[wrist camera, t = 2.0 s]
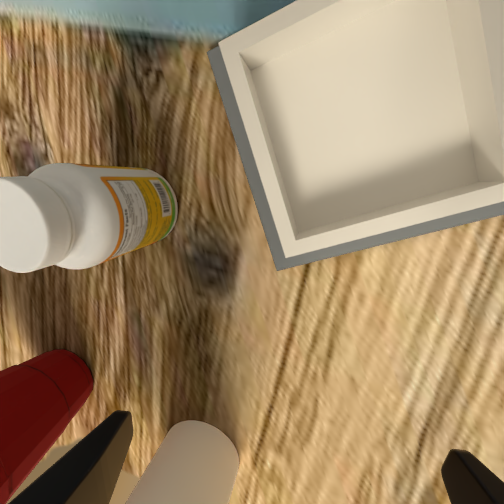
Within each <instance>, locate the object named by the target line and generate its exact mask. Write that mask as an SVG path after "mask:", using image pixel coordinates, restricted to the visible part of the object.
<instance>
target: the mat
mask: <svg viewBox="0 0 504 504" xmlns="http://www.w3.org/2000/svg"><path fill="white" fill-rule="evenodd" d="M207 54H208V58H209V61H210V64H211V67H212V70H213V73H214V76H215V79H216V82H217V86H218V89H219V92H220V95H221V98H222V101H223V104H224V107H225V110H226V114H227V117H228V120H229V123H230V126H231V129H232V132H233V135H234V139H235V142H236V145H237V148H238V151H239V154H240V157H241V160H242V163H243V167H244V170H245V173H246V176H247V179H248V182H249V185H250V188H251V191H252V195H253V198H254V201H255V204H256V207H257V210H258V213H259V216H260V220H261V223H262V226H263V229H264V232H265V235H266V238H267V241H268V244H269V248H270V251H271V254H272V257H273V260H274V263H275V266H276V269H277V271H279V270H283V269H287V268H291V267H295V266H299V265H303V264H307V263H311V262H315V261H319V260H323V259H327V258H331V257H335V256H339V255H343V254H347V253H351V252H355V251H359V250H363V249H367V248H371V247H375V246H379V245H383V244H387V243H391V242H395V241H399V240H403V239H407V238H411V237H415V236H419V235H423V234H427V233H431V232H435V231H439V230H443V229H447V228H451V227H455V226H459V225H463V224H467V223H472V222H476V221H480V220H484V219H488V218H492V217H496V216H500V215H504V201H503V202H499V203H496V204H492V205H488V206H484V207H480V208H476V209H473V210H469V211H465V212H461V213H457V214H453V215H450V216H446V217H442V218H438V219H434V220H430V221H426V222H423V223H419V224H415V225H411V226H407V227H403V228H400V229H396V230H392V231H388V232H384V233H380V234H377V235H373V236H369V237H365V238H361V239H357V240H353V241H350V242H346V243H342V244H338V245H334V246H330V247H327V248H323V249H319V250H315V251H311V252H307V253H304V254H300V255H296V256H292V257H288V258H285V254H284V251H283V248H282V245H281V242H280V238H279V235H278V232H277V229H276V226H275V222H274V219H273V216H272V213H271V210H270V206H269V203H268V200H267V197H266V194H265V190H264V187H263V184H262V181H261V178H260V174H259V171H258V168H257V165H256V162H255V158H254V155H253V152H252V149H251V146H250V143H249V139H248V136H247V133H246V130H245V127H244V123H243V120H242V117H241V114H240V111H239V107H238V104H237V101H236V98H235V95H234V91H233V88H232V85H231V82H230V79H229V75H228V72H227V69H226V66H225V63H224V59H223V56H222V53H221V50H220V47H219V46H217V47H216V48H214V49H212V50H210V51H208V52H207Z"/></svg>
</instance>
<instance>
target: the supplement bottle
mask: <svg viewBox="0 0 504 504" xmlns="http://www.w3.org/2000/svg"><path fill="white" fill-rule="evenodd" d="M177 215H178V205H177V199H176V196H175V193H174V191H173V189H172V187H171V186H170V184H169V183H168V182H167V181H166V180H165V179H164V178H163V177H162V176H161V175H159V174H158V173H156V172H154V171H152V170H149V169H144V168H135V167H118V166H102V165H88V164H74V163H55V164H48V165H45V166H42V167H40V168H38V169H36V170H35V171H33V172H32V173H31V174H30V175H29V176H28V177H26V176H18V177H0V266H1V267H3V268H5V269H7V270H9V271H13V272H17V273H27V272H32V271H35V270H39V269H42V268H45V267H49V266H52V265H57V266H59V267H63V268H67V269H85V268H89V267H92V266H95V265H98V264H101V263H103V262H106V261H108V260H111V259H114V258H116V257H119V256H121V255H124V254H127V253H129V252H132V251H134V250H137V249H140V248H142V247H145V246H148V245H150V244H153V243H155V242H157V241H160V240H162V239H163V238H165V237H166V236H167V235H168V234H169V233H170V232H171V230H172V229H173V227H174V226H175V223H176V220H177Z"/></svg>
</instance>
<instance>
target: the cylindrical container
mask: <svg viewBox="0 0 504 504" xmlns="http://www.w3.org/2000/svg"><path fill="white" fill-rule="evenodd" d="M238 469H239V456H238V453H237V450H236V448H235V446H234V444H233V443H232V442H231V440H230V439H229V438H228V437H227V436H226V435H225V434H224V433H223V432H222V431H220V430H219V429H217V428H216V427H214V426H212V425H210V424H208V423H205V422H202V421H196V420H186V421H182V422H179V423H177V424H175V425H174V426H173V427H172V428H171V429H170V430H169V432H168V433H167V435H166V437H165V438H164V440H163V442H162V443H161V445H160V447H159V448H158V450H157V452H156V453H155V455H154V457H153V458H152V460H151V462H150V463H149V465H148V466H147V468H146V470H145V471H144V473H143V475H142V476H141V478H140V480H139V481H138V483H137V485H136V486H135V488H134V490H133V491H132V493H131V495H130V497H129V498H128V500H127V501H126V503H125V504H229V501H230V497H231V494H232V490H233V487H234V483H235V479H236V476H237V472H238Z"/></svg>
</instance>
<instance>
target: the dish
mask: <svg viewBox="0 0 504 504" xmlns="http://www.w3.org/2000/svg"><path fill="white" fill-rule="evenodd" d="M218 43H219V47H220V50H221V53H222V56H223V59H224V63H225V66H226V69H227V72H228V75H229V79H230V82H231V85H232V88H233V91H234V95H235V98H236V101H237V104H238V107H239V111H240V114H241V117H242V120H243V123H244V127H245V130H246V133H247V136H248V139H249V143H250V146H251V149H252V152H253V155H254V158H255V162H256V165H257V168H258V171H259V174H260V178H261V181H262V184H263V187H264V190H265V194H266V197H267V200H268V203H269V206H270V210H271V213H272V216H273V219H274V222H275V226H276V229H277V232H278V235H279V238H280V242H281V245H282V248H283V251H284V254H285V258H288V257H292V256H296V255H300V254H304V253H307V252H311V251H315V250H319V249H323V248H327V247H330V246H334V245H338V244H342V243H346V242H350V241H353V240H357V239H361V238H365V237H369V236H373V235H377V234H380V233H384V232H388V231H392V230H396V229H400V228H403V227H407V226H411V225H415V224H419V223H423V222H426V221H430V220H434V219H438V218H442V217H446V216H450V215H453V214H457V213H461V212H465V211H469V210H473V209H476V208H480V207H484V206H488V205H492V204H496V203H499V202H503V201H504V0H297V1H295V2H293V3H291V4H289V5H287V6H285V7H283V8H282V9H280V10H278V11H276V12H274V13H272V14H270V15H268V16H267V17H265V18H263V19H261V20H259V21H257V22H255V23H254V24H252V25H250V26H248V27H246V28H244V29H242V30H240V31H239V32H237V33H235V34H233V35H231V36H229V37H227V38H226V39H224V40H222V41H220V42H218Z"/></svg>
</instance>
